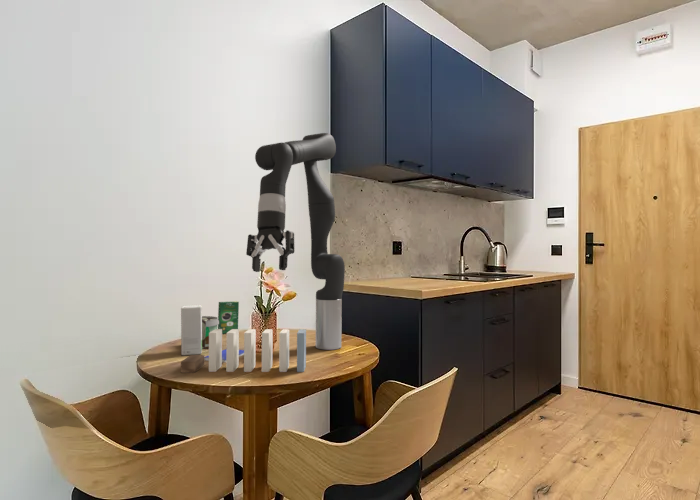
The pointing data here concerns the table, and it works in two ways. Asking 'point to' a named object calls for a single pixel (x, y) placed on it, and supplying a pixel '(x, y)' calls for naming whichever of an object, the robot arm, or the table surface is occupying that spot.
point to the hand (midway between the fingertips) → (269, 270)
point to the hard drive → (224, 355)
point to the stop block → (192, 363)
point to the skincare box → (191, 330)
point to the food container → (208, 329)
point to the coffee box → (228, 316)
